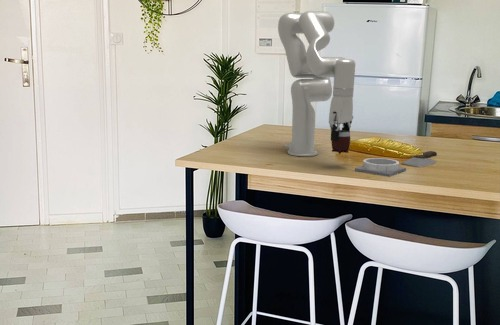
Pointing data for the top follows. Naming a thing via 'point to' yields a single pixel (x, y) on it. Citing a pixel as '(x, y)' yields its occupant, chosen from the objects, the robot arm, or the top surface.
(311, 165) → the top surface
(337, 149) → the mate gourd
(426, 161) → the cleaver
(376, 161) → the housing
